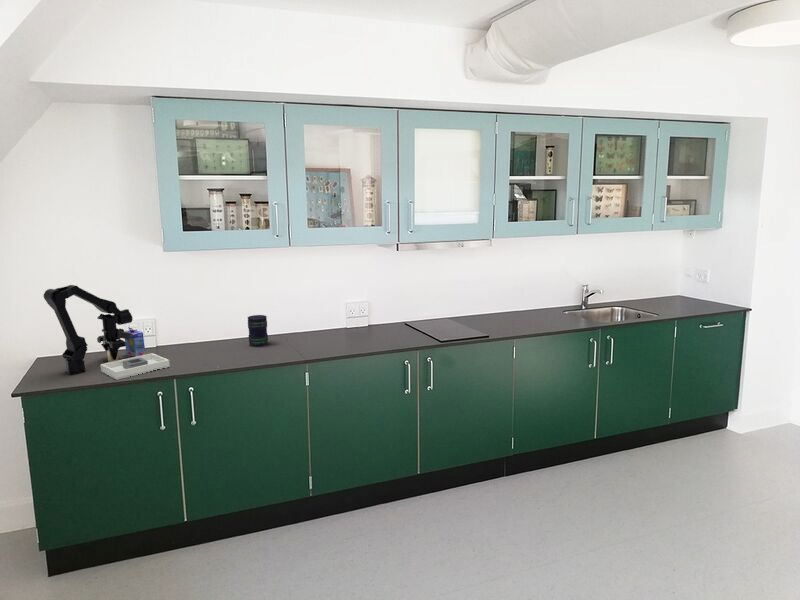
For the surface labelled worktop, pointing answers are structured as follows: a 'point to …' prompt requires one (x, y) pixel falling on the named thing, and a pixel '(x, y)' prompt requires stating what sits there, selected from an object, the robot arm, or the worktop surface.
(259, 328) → the storage jar
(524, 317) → the worktop surface
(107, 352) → the peg
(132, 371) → the walled box
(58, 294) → the robot arm
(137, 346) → the ink cartridge box
